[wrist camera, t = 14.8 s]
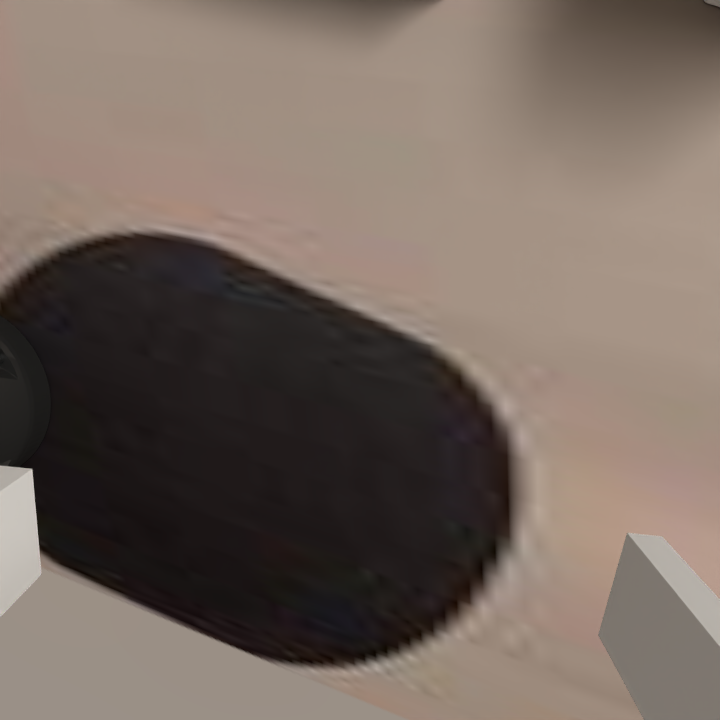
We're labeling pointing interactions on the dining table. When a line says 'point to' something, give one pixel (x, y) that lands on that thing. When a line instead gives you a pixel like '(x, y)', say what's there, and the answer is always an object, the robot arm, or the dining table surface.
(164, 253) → the dining table surface
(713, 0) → the supplement box
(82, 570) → the dining table surface
